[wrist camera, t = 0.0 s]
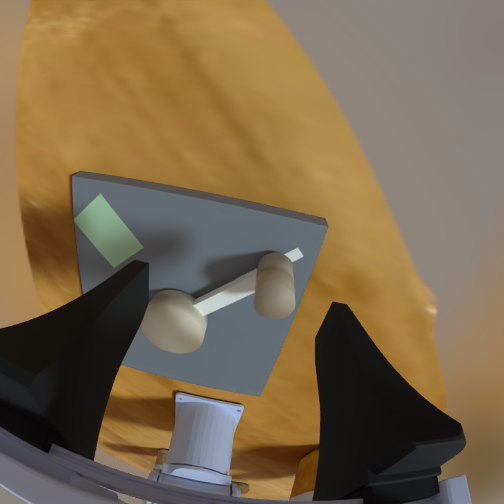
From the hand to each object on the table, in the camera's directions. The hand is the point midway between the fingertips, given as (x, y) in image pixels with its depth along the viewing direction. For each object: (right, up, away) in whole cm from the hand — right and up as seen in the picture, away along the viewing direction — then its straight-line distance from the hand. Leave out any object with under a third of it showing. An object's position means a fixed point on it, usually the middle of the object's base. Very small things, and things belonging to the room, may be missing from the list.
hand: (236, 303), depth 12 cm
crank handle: (-2, -1, +11) cm, 11 cm away
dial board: (-5, -2, +14) cm, 15 cm away
